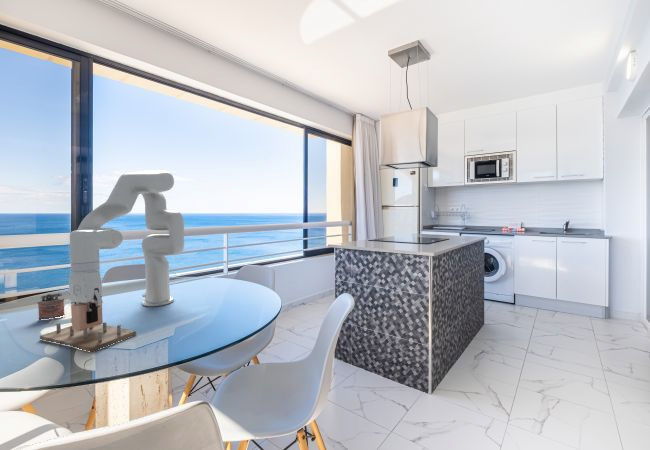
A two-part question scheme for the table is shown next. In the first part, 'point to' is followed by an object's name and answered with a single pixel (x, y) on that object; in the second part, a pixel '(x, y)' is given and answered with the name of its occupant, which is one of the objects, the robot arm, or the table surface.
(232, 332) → the table surface
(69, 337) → the rack
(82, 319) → the salmon pink block
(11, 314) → the table surface
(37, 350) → the table surface
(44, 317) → the lighter
